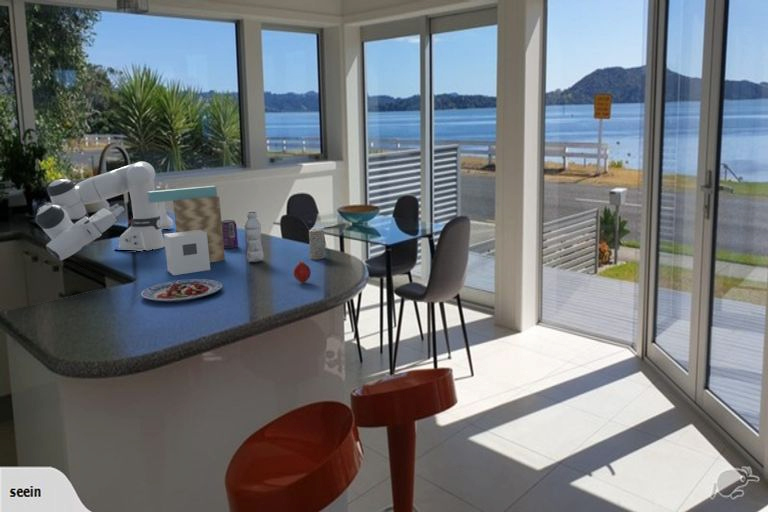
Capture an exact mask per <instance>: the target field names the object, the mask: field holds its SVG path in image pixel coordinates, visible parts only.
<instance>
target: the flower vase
mask: <svg viewBox="0 0 768 512" xmlns="http://www.w3.org/2000/svg"><path fill="white" fill-rule="evenodd" d="M154 185H155V191H160V190H171V189H178V188H177V187H176V186H173V183H172V182H171V181H170V182H168V183H162V182H159V183H158V185H159V186H158V185H157V183H154ZM165 202H166V201H164V202H158V212H159V216H160V220H161V229H169V230H171V229H170V228H172V227H173V225H174V221H173V219H172V218H171V217H170V216H169V215H168V213H167V210H166V203H165Z"/></svg>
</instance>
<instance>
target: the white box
mask: <svg viewBox="0 0 768 512" xmlns="http://www.w3.org/2000/svg"><path fill="white" fill-rule="evenodd" d="M163 239H164V242H165V247H164V249H165V257H166V268H167V272H169V273H170V274H171V275H172V276H178V275H184V274H192V273H197V272H205V271H211V262H210V260H209V250H208V239H207V233H206V232H204V231H202V230H193V231H185V232H177V233H176V232H170V233H163Z"/></svg>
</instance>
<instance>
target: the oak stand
mask: <svg viewBox="0 0 768 512" xmlns="http://www.w3.org/2000/svg"><path fill="white" fill-rule="evenodd" d="M220 201H221V200H220V196H218V195H217V196H215V197H205V198H195V199H184V200H174V201H172V204H173V206H172V207H173V215H174V224H175V231H176V232H175V233H177V232H185V231H193V230H202V231H204V232H206V233H207V239H208V250H209V260H210V263H215V262H223V261H225V260H226V256H225V248H224V243H223V233H222V222H221V221H222V213H221V203H220ZM222 260H223V261H222Z"/></svg>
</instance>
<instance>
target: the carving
mask: <svg viewBox="0 0 768 512" xmlns="http://www.w3.org/2000/svg"><path fill="white" fill-rule="evenodd" d="M308 239H309V256H310V259H311V260H314V261H318V260H323V259H324V258H325V256H326V250H325V249H326V246H325V245H326V242H325V231H324V229H323V228H312V229H310V230H308Z"/></svg>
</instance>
